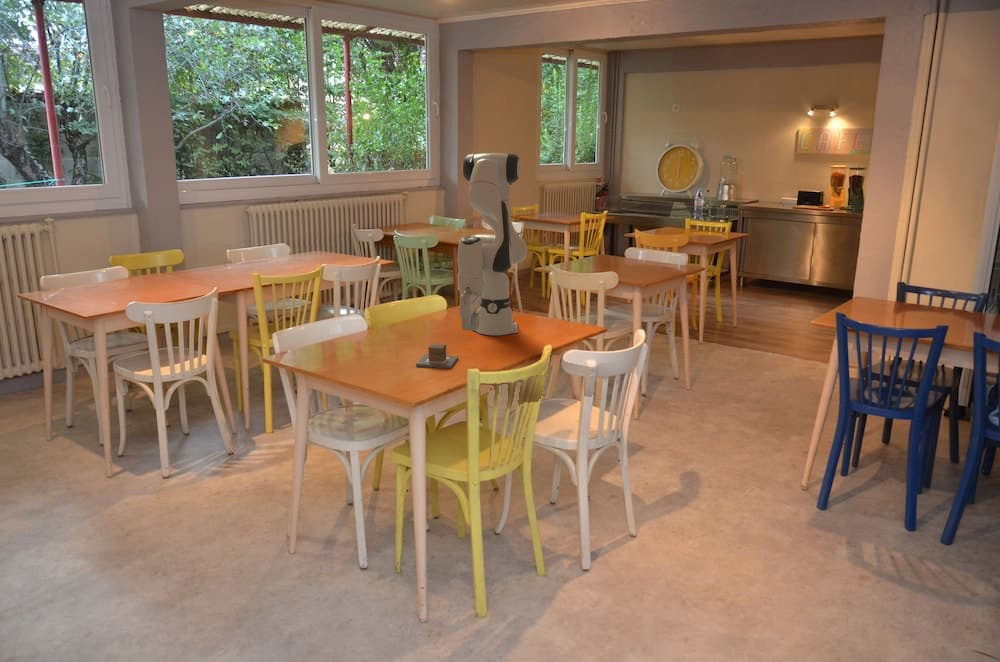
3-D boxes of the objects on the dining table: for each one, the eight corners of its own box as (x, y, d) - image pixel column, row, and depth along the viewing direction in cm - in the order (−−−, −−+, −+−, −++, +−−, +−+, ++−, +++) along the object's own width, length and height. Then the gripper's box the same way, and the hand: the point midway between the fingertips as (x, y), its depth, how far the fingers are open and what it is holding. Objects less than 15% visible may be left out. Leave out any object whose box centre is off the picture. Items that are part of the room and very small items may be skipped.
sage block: (465, 326, 273) (465, 312, 272) (479, 326, 273) (479, 312, 271) (462, 329, 269) (462, 315, 267) (476, 330, 268) (476, 316, 267)
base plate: (425, 356, 279) (425, 353, 279) (458, 358, 277) (458, 355, 277) (416, 366, 267) (416, 363, 267) (450, 368, 265) (450, 365, 265)
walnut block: (432, 357, 275) (432, 343, 273) (446, 357, 274) (446, 344, 273) (428, 361, 270) (428, 347, 269) (442, 362, 269) (442, 348, 268)
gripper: (473, 291, 256) (473, 332, 260) (485, 278, 275) (485, 316, 279) (454, 291, 257) (455, 331, 261) (467, 278, 276) (467, 315, 280)
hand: (470, 323), depth 270 cm, fingers closed on sage block, 5 cm apart
